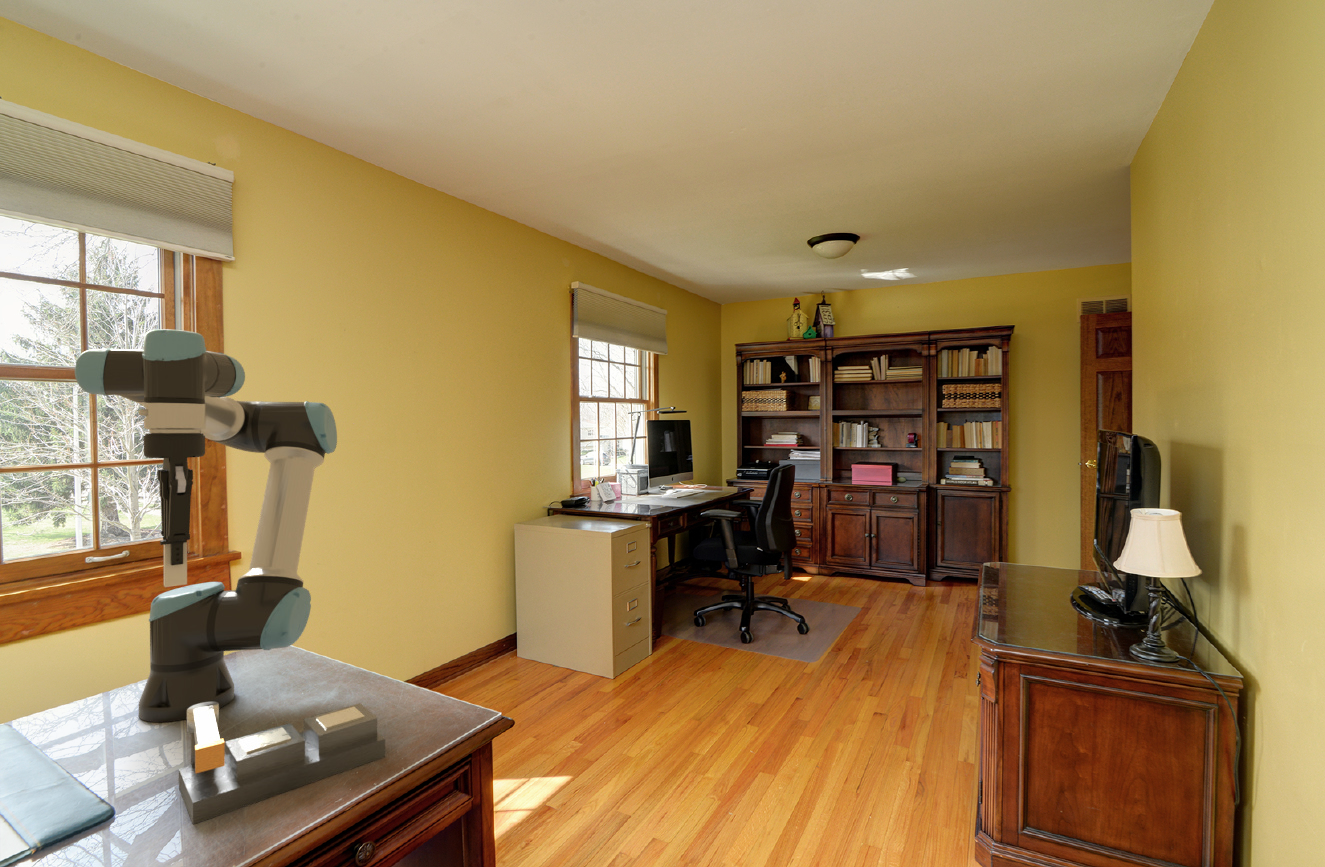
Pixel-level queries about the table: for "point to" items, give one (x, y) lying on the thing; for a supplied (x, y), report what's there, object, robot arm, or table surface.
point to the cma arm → (206, 735)
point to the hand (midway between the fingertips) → (175, 584)
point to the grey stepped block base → (281, 761)
